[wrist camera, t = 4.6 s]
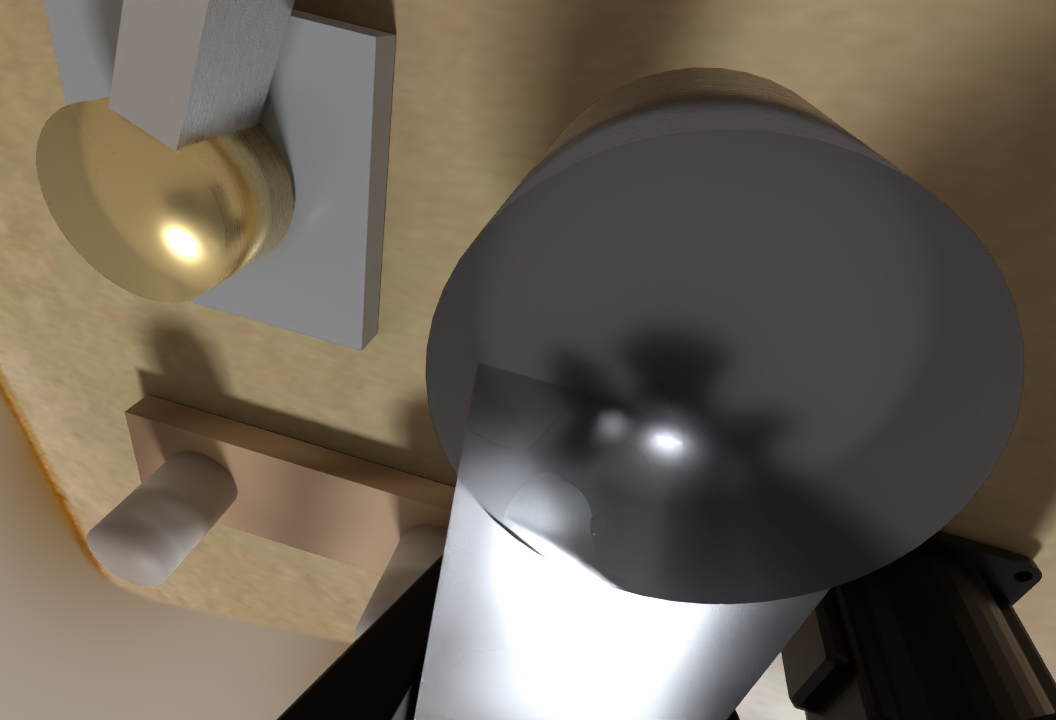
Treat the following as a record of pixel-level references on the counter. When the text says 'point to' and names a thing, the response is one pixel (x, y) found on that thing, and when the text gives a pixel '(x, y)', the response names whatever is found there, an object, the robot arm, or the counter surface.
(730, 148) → the grey knobbed rod
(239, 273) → the plate
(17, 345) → the counter surface
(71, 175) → the lever switch
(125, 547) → the peg rack
